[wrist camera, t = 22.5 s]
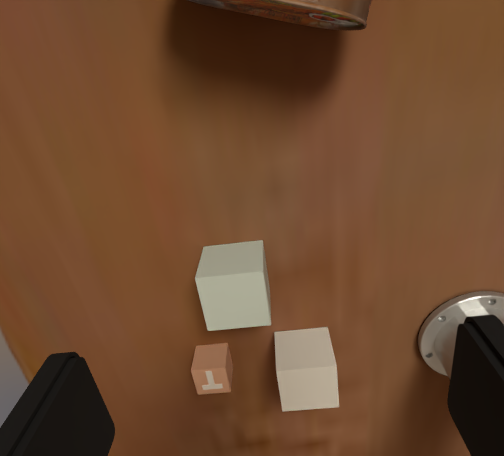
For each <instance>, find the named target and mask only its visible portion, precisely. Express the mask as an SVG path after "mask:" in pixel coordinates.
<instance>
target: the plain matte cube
mask: <svg viewBox="0 0 504 456" xmlns="http://www.w3.org/2000/svg"><path fill="white" fill-rule="evenodd" d="M195 280H196V285H197V289H198V293H199V297H200V301H201V305H202V309H203V313H204V317H205V321H206V325H207V329H208V331H213V330H224V329H234V328H245V327H256V326H267V325H271V308H270V287H269V280H268V273H267V266H266V259H265V252H264V245H263V240H259V241H250V242H241V243H233V244H224V245H215V246H206V247H203V251H202V255H201V258H200V262H199V266H198V269H197V273H196V276H195Z"/></svg>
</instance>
